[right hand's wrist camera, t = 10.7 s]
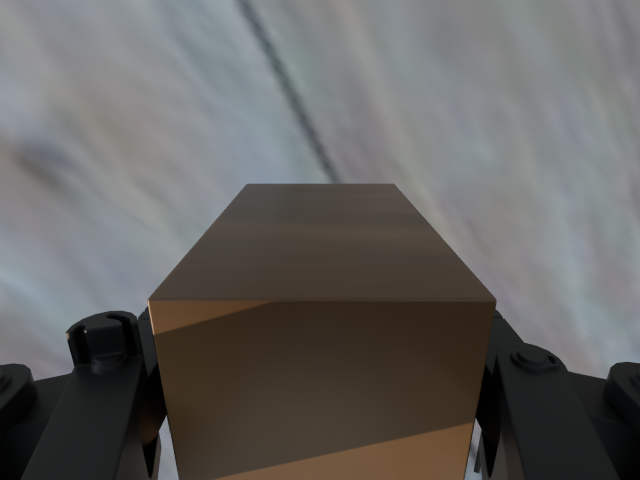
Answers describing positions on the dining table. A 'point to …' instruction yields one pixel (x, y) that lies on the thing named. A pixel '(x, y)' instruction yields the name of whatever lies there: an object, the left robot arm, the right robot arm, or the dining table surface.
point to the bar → (321, 340)
